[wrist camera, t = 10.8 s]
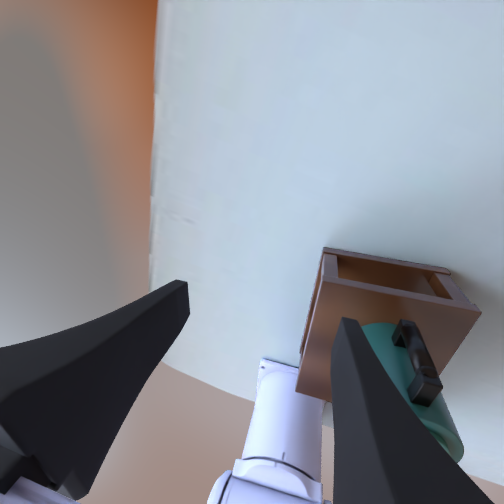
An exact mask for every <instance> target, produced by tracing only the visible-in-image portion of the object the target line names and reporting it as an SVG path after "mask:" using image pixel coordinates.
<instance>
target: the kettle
mask: <svg viewBox="0 0 504 504" xmlns="http://www.w3.org/2000/svg"><path fill="white" fill-rule="evenodd" d="M361 328H362V330H363V332H364V334H365V336H366V337H367V339H368V341H369V343H370V345H371V347H372V348H373V350H374V352H375V354H376V355H377V357H378V359H379V360H380V362H381V364H382V365H383V367H384V369H385V370H386V372H387V374H388V375H389V377H390V378H391V380H392V381H393V383H394V384H395V386H396V387H397V389H398V390H399V392H400V393H401V395H402V396H403V398H404V399H405V400H406V402H407V403H408V405H409V406H410V407H411V409H412V410H413V411H414V413H415V414H416V415H417V416H418V418H419V419H420V420H421V422H422V423H423V424H424V425H425V427H426V428H427V429H428V430H429V432H430V433H431V434H432V435H433V436H434V438H435V439H436V440H437V441H438V442H439V443H440V445H441V446H442V447H443V448H444V449H445V450H446V452H447V453H448V454H449V455H450V456H451V457H452V459H453V460H454V461H455V462H456V463H458V462H459V461H460V460H461V459H462V457H463V454H464V446H463V443H462V441H461V439H460V436H459V434H458V431H457V429H456V427H455V424H454V422H453V420H452V417H451V415H450V412H449V410H448V408H447V405H446V403H445V400H444V398H443V396H442V393H441V390H442V389H443V385H442V383H441V381H440V378H439V376H438V371H437V369H436V367H435V365H434V362H433V360H432V358H431V356H430V353H429V351H428V349H427V346H426V344H425V342H424V340H423V337H422V335H421V333H420V331H419V329H418V327H417V325H416V323H415V322H414V321H409V320H404V319H400V321H399V323H398V325H396V324H391V323H372V324H368V325H365V326H362V327H361Z"/></svg>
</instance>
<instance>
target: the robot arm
mask: <svg viewBox="0 0 504 504" xmlns="http://www.w3.org/2000/svg"><path fill="white" fill-rule="evenodd" d="M189 315H190V308H189V295H188V283H187V282H185V281H181V280H174V281H172V282H170V283H168V284H166V285H164V286H162V287H160V288H159V289H157V290H155V291H153V292H151V293H149V294H147V295H145V296H144V297H142V298H140V299H138V300H136V301H134V302H132V303H130V304H128V305H126V306H124V307H122V308H119V309H118V310H115V311H113V312H111V313H109V314H106V315H104V316H102V317H100V318H97V319H94V320H92V321H89V322H87V323H84V324H82V325H78V326H75V327H73V328H70V329H67V330H64V331H61V332H58V333H55V334H52V335H48V336H45V337H41V338H38V339H34V340H30V341H27V342H23V343H19V344H15V345H11V346H6V347H1V348H0V504H80V503H78V502H76V500H79V499H81V498H83V497H84V496H85V495H87V494H88V493H89V490H90V489H91V486H92V484H93V482H94V480H95V478H96V476H97V474H98V472H99V469H100V467H101V465H102V463H103V461H104V459H105V457H106V455H107V453H108V451H109V448H110V447H111V445H112V443H113V441H114V439H115V437H116V435H117V433H118V431H119V429H120V427H121V425H122V424H123V422H124V420H125V418H126V416H127V414H128V413H129V411H130V409H131V407H132V405H133V403H134V402H135V400H136V398H137V396H138V394H139V393H140V391H141V389H142V388H143V386H144V384H145V383H146V381H147V379H148V378H149V376H150V375H151V373H152V372H153V370H154V369H155V368H156V366H157V365H158V363H159V362H160V361H161V359H162V358H163V356H164V355H165V354H166V352H167V351H168V349H169V348H170V347H171V345H172V344H173V342H174V341H175V339H176V338H177V336H178V335H179V334H180V332H181V330H182V328H183V327H184V325H185V323H186V321H187V319H188V317H189ZM298 372H299V369H298V368H294V367H291V366H287V365H283V364H280V363H276V362H273V361H269V360H265V359H262V360H261V361H260V364H259V373H258V381H257V390H256V398H255V407H254V411H253V415H252V419H251V423H250V427H249V431H248V435H247V439H246V443H245V447H244V451H243V454H242V458H241V460H240V459H236V461H235V464H234V468H233V471H231V470H226V471H225V472H224V473H223V475H221V476H220V477H219V478H218V479H217V481H216V483H215V484H214V486H213V488H212V491H211V493H210V496H209V499H208V502H207V504H322V495H323V494H322V493H323V485H322V483H321V441H322V410H323V407H324V405H325V402H326V401H325V400H321V399H318V398H314V397H311V396H308V395H304V394H301V393H297V392H295V387H296V381H297V377H298ZM330 377H331V392H332V406H333V421H334V441H335V445H334V489H333V504H494V503H493V502H492V501H491V500H490V499H489V498H488V497H487V496H486V494H484V492H483V491H482V490H481V489H480V488H479V487H478V486H477V485H476V484H475V483H474V482H473V481H472V480H471V479H470V477H469V476H468V475H467V474H466V473H465V472H464V471H463V470H462V469H461V468H460V466H459V465H458V464H457V463H456V462H455V461H454V460H453V459H452V457H451V456H450V455H449V454H448V453H447V452H446V450H445V449H444V448H443V447H442V446H441V445H440V443H439V442H438V441H437V440H436V439H435V438H434V436H433V435H432V434H431V433H430V432H429V430H428V429H427V428H426V427H425V425H424V424H423V423H422V422H421V420H420V419H419V418H418V416H417V415H416V414H415V413H414V411H413V410H412V409H411V407H410V406H409V405H408V403H407V402H406V400H405V399H404V398H403V396H402V395H401V393H400V392H399V390H398V389H397V387H396V386H395V384H394V383H393V381H392V380H391V378H390V377H389V375H388V374H387V372H386V370H385V369H384V367H383V365H382V364H381V362H380V360H379V359H378V357H377V355H376V354H375V352H374V350H373V348H372V347H371V345H370V343H369V341H368V339H367V337H366V336H365V334H364V332H363V330H362V328H361V326H360V324H359V322H358V321H357V320H355V319H351V318H346V317H342V318H341V321H340V324H339V327H338V330H337V333H336V336H335V340H334V343H333V346H332V349H331V366H330ZM50 489H51V490H50ZM52 490H53V491H52ZM54 491H55V492H54ZM56 492H57V493H56ZM63 495H64V496H63ZM65 496H66V497H65ZM67 497H68V498H67ZM69 498H70V499H69ZM323 504H332V503H331V501H329V500H324V503H323Z"/></svg>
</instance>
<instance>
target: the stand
mask: <svg viewBox="0 0 504 504" xmlns="http://www.w3.org/2000/svg"><path fill="white" fill-rule="evenodd" d="M450 275H451V273H450V272H449V271H448V270H447V269H446V268H441V267H435V266H430V265H424V264H418V263H412V262H406V261H400V260H395V259H389V258H383V257H377V256H371V255H365V254H360V253H354V252H348V251H342V250H336V249H330V248H325V247H323V250H322V255H321V259H320V263H319V268H318V272H317V276H316V281H315V285H314V290H313V294H312V298H311V303H310V307H309V311H308V316H307V320H306V325H305V329H304V333H303V338H302V342H301V346H300V354H301V355H300V363H299V372H298V377H297V381H296V387H295V392H297V393H301V394H304V395H308V396H311V397H314V398H318V399H321V400H325V401H328V402H331V403H332V392H331V377H330V366H331V349H332V346H333V343H334V340H335V336H336V333H337V330H338V327H339V324H340V321H341V318H342V317H346V318H351V319H355V320H357V321H358V322H359V324H360V326H361V327H362V326H365V325H368V324H372V323H391V324H396V325H398V323H399V321H400V319H404V320H409V321H414V322H415V323H416V325H417V327H418V329H419V331H420V333H421V335H422V337H423V340H424V342H425V344H426V346H427V349H428V351H429V353H430V356H431V358H432V360H433V362H434V365H435V367H436V369H437V371H438V376H439V375H440V374H441V372H442V371H443V369H444V368H445V366H446V365H447V363H448V362H449V360H450V359H451V358H452V356H453V355H454V353H455V352H456V350H457V349H458V347H459V346H460V344H461V343H462V341H463V340H464V339H465V337H466V336H467V334H468V333H469V331H470V330H471V328H472V327H473V325H474V324H475V322H476V321H477V319H478V318H479V317H480V315H481V314H482V312H481V311H480V310H479V308H478V307H477V306H476V305H475V304H471V302H470V301H469V300H468V299H467V297H466V296H465V295H464V294H463V292H462V291H461V290H460V288H459V287H458V286H457V285H456V283H455V282H454V281H453V280H452V278H451V277H450Z"/></svg>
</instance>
